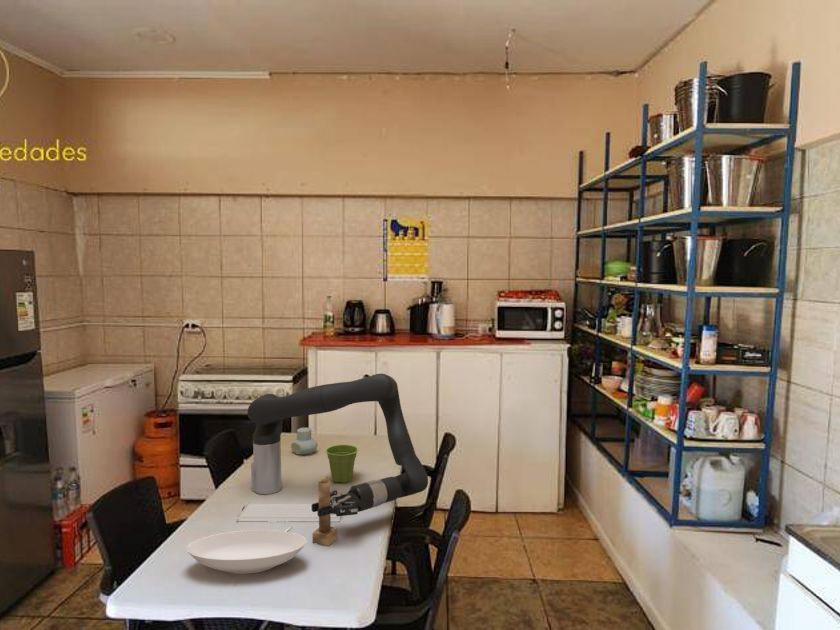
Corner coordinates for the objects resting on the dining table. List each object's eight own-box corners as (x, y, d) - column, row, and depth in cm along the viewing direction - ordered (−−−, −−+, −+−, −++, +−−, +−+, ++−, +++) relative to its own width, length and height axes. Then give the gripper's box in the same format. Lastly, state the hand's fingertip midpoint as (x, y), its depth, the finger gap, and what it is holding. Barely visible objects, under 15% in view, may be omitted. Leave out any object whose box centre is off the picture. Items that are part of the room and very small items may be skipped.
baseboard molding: (338, 526, 160) (344, 508, 172) (338, 517, 160) (344, 500, 172) (236, 526, 161) (249, 508, 173) (235, 516, 160) (249, 499, 172)
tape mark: (277, 536, 153) (277, 536, 153) (289, 527, 158) (289, 526, 158) (280, 537, 152) (280, 536, 152) (292, 527, 158) (292, 527, 158)
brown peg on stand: (312, 543, 149) (311, 480, 148) (322, 534, 154) (321, 473, 153) (328, 546, 148) (327, 482, 146) (337, 537, 153) (337, 475, 151)
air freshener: (320, 453, 223) (320, 429, 222) (304, 458, 217) (303, 434, 216) (304, 447, 230) (304, 424, 230) (288, 452, 224) (288, 429, 223)
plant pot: (348, 487, 187) (348, 456, 186) (319, 483, 192) (319, 452, 191) (364, 476, 198) (364, 446, 197) (336, 471, 203) (336, 442, 202)
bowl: (177, 586, 129) (176, 562, 129) (198, 553, 144) (197, 531, 144) (302, 581, 131) (301, 557, 131) (310, 549, 146) (310, 528, 146)
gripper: (356, 475, 164) (304, 489, 154) (380, 490, 153) (326, 506, 142) (356, 499, 164) (304, 514, 154) (381, 516, 153) (326, 533, 143)
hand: (315, 510), depth 148 cm, fingers closed on brown peg on stand, 3 cm apart
